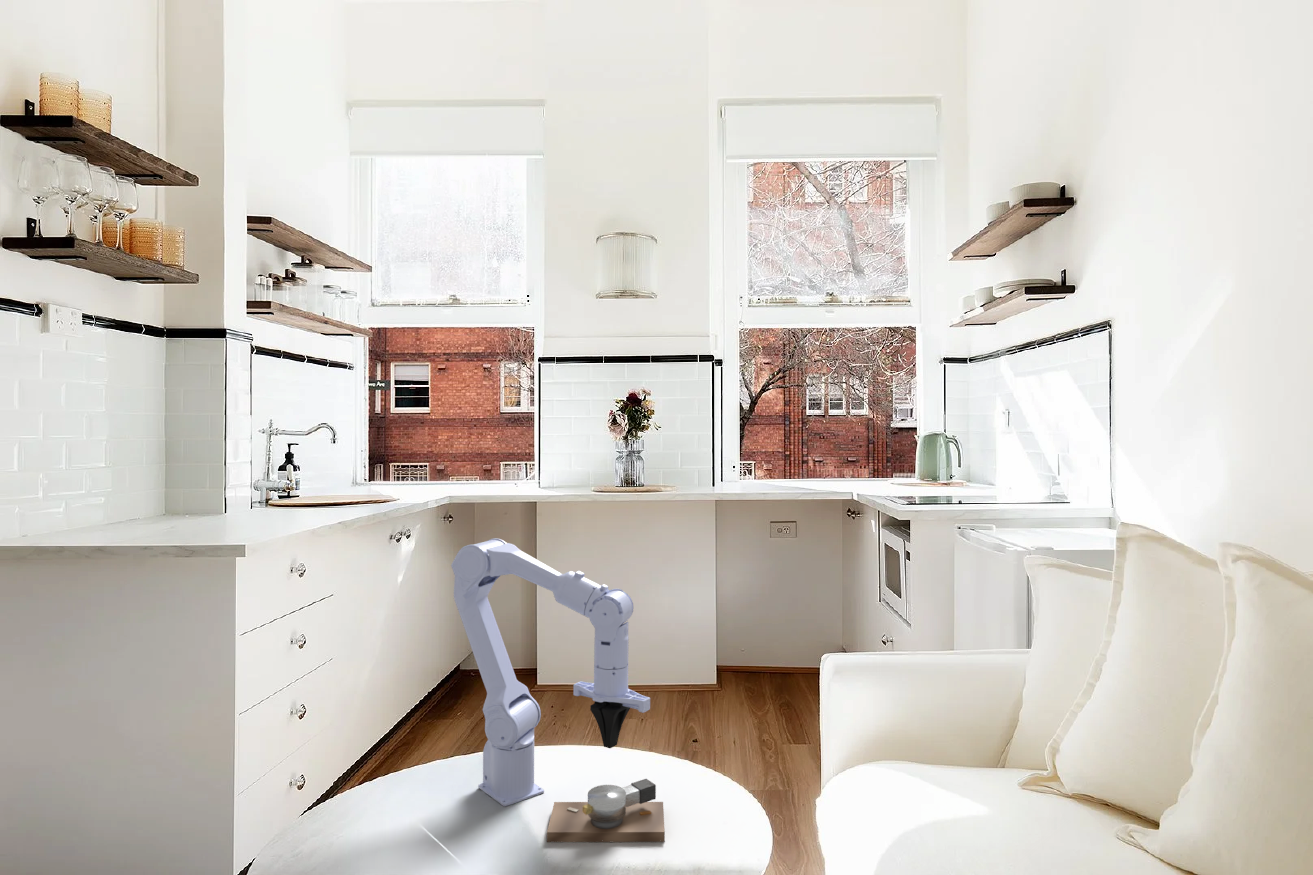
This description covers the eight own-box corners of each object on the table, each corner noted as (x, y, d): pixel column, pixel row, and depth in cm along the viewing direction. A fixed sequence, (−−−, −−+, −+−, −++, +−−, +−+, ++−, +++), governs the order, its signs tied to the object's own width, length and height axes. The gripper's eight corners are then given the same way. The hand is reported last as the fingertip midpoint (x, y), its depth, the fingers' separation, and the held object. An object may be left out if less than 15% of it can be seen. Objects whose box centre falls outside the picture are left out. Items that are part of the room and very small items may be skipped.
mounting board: (554, 810, 126) (554, 795, 126) (663, 810, 127) (663, 795, 127) (546, 841, 117) (547, 825, 117) (664, 841, 117) (664, 825, 117)
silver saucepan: (594, 828, 116) (594, 808, 116) (574, 811, 121) (574, 793, 120) (661, 804, 123) (661, 786, 123) (640, 790, 128) (640, 772, 128)
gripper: (562, 662, 128) (561, 743, 128) (633, 678, 120) (632, 764, 121) (588, 652, 134) (587, 729, 134) (657, 667, 126) (656, 749, 126)
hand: (610, 745), depth 128 cm, fingers closed
